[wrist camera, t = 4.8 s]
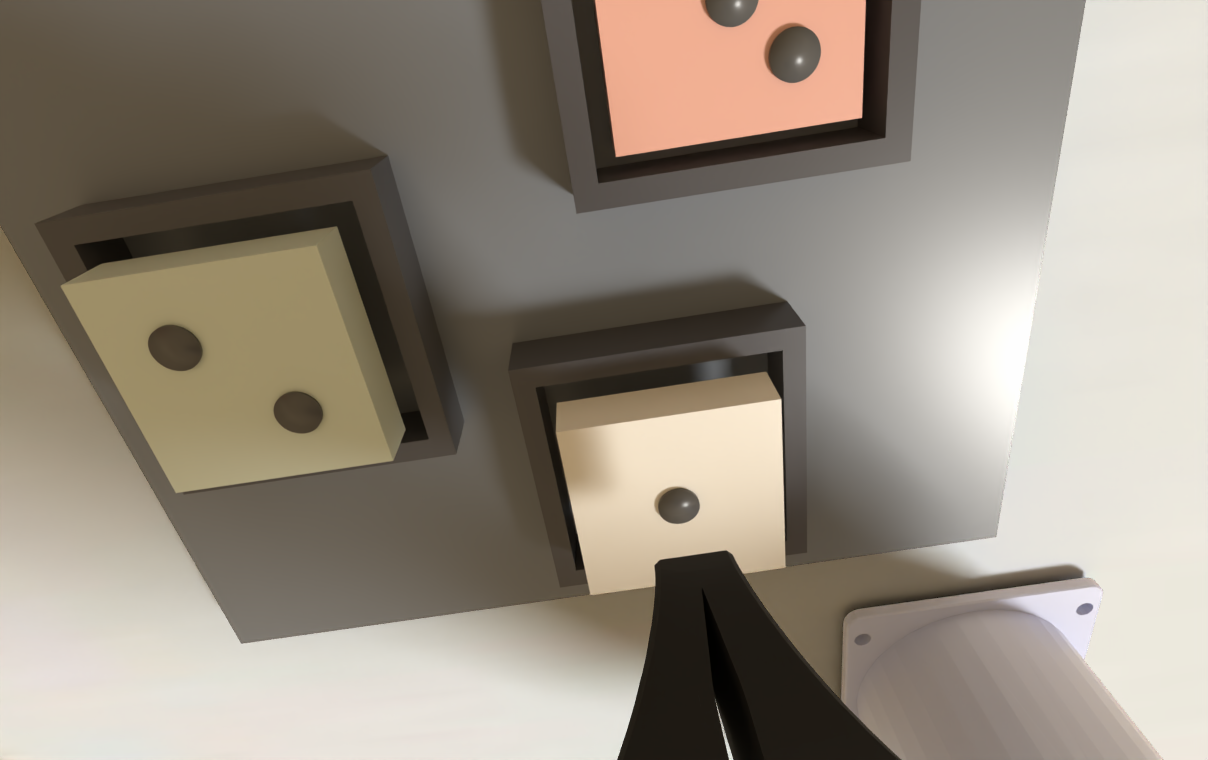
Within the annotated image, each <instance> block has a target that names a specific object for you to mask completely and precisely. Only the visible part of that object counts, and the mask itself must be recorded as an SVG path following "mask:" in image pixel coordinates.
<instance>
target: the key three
mask: <svg viewBox="0 0 1208 760" xmlns="http://www.w3.org/2000/svg"><path fill="white" fill-rule="evenodd" d="M593 5H594V13H595V20H596V28H597V35H598V43H599V50H600V58H601V65H602V72H603V80H604V87H605V95H606V102H607V110H608V117H609V124H610V132H611V139H612V146H613V149H614V152H615V156H616V157H620V156H626V155H633V154H639V153H645V152H651V151H658V150H664V149H670V148H676V147H683V146H689V145H695V144H701V143H708V142H714V141H720V140H726V139H733V138H739V137H745V136H752V135H758V134H764V133H770V132H777V131H783V130H789V129H795V128H802V127H808V126H814V125H820V124H827V123H833V122H839V121H845V120H852V119H858V118H862V103H863V72H864V41H865V10H866V0H593Z"/></svg>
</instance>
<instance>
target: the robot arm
mask: <svg viewBox="0 0 1208 760" xmlns="http://www.w3.org/2000/svg"><path fill="white" fill-rule="evenodd" d="M654 568H655V601H654V610H653V619H652V626H651V632H650V637H649V643H648V649H647V654H646V659H645V664H644V668H643V673H642V677H641V681H640V685H639V689H638V693H637V697H636V701H635V705H634V708H633V712H632V715H631V719H630V722H629V725H628V729H627V732H626V735H625V738H624V741H623V744H622V747H621V750H620V753H619V756H618V759H617V760H729V758H728V754H727V749H726V745H725V741H724V737H723V732H722V728H721V724H720V720H719V715H718V711H717V707H716V703H717V706H718V709H719V713H720V716H721V720H722V723H723V726H724V730H725V733H726V736H727V740H728V743H729V746H730V750H731V753H732V756H733V760H1163V758H1162V757H1161V756H1160V755H1159V753H1158V752H1157V751H1156V750H1155V748H1154V747H1153V746H1152V745H1151V743H1150V742H1149V741H1148V740H1147V738H1146V737H1145V736H1144V735H1143V733H1142V732H1141V731H1140V730H1139V728H1138V727H1137V726H1136V725H1135V723H1134V722H1133V721H1132V720H1131V718H1130V717H1129V716H1128V714H1127V713H1126V712H1125V711H1124V709H1123V708H1122V707H1121V706H1120V704H1119V703H1118V702H1117V701H1116V699H1115V698H1114V697H1113V696H1112V694H1111V693H1110V692H1109V691H1108V689H1107V688H1106V687H1105V686H1104V684H1103V683H1102V682H1101V681H1100V679H1099V678H1098V677H1097V676H1096V674H1095V673H1094V672H1093V671H1092V669H1091V668H1090V667H1089V665H1088V664H1087V663H1086V662H1085V656H1086V653H1087V649H1088V646H1089V642H1090V639H1091V635H1092V631H1093V628H1094V624H1095V621H1096V617H1097V613H1098V610H1099V606H1100V603H1101V599H1102V595H1103V590H1102V588H1101V587H1100V586H1099V585H1098V584H1097V583H1096V582H1095V580H1093V579H1091V578H1077V579H1070V580H1063V581H1056V582H1049V583H1041V584H1034V585H1027V586H1020V587H1013V588H1005V589H998V590H991V591H984V592H977V593H969V594H962V595H955V596H948V597H941V598H934V599H926V600H919V601H912V602H905V603H898V604H890V605H883V606H876V607H869V608H862V609H857V610H853V611H852V612H850V613H848V615H847V616H846V617H845V619H844V622H843V651H842V684H841V700H840V699H839V697H838V696H837V695H836V694H835V693H834V692H833V691H832V690H831V689H830V688H829V687H828V685H827V684H826V683H825V682H824V681H823V680H822V679H821V677H820V676H819V675H818V674H817V673H816V672H815V670H814V669H813V668H812V667H811V666H810V665H809V664H808V662H807V661H806V660H805V659H804V658H803V656H802V655H801V654H800V653H799V651H798V650H797V649H796V648H795V647H794V645H793V644H792V643H791V641H790V640H789V639H788V637H787V636H786V635H785V634H784V632H783V631H782V630H781V628H780V627H779V626H778V624H777V623H776V622H775V621H774V619H773V618H772V616H771V615H770V614H769V612H768V611H767V609H766V608H765V607H764V605H763V604H762V602H761V601H760V599H759V598H758V596H757V595H756V593H755V592H754V590H753V589H752V587H751V586H750V584H749V583H748V581H747V579H746V578H745V576H744V575H743V573H742V571H741V569H740V568H739V566H738V564H737V562H736V560H735V558H734V556H733V554H731V553H730V552H728V551H727V550H724V551H717V552H710V553H703V554H696V555H689V556H682V557H675V558H668V559H661V560H659V561H658V562H657V563H656V564H655V565H654ZM715 699H716V701H715Z"/></svg>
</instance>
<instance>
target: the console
mask: <svg viewBox="0 0 1208 760" xmlns="http://www.w3.org/2000/svg"><path fill="white" fill-rule="evenodd" d="M1085 2H1086V0H866V10H865V41H864V72H863V103H862V118H858V119H852V120H845V121H839V122H833V123H827V124H820V125H814V126H808V127H802V128H795V129H789V130H783V131H777V132H770V133H764V134H758V135H752V136H745V137H739V138H733V139H726V140H720V141H714V142H708V143H701V144H695V145H689V146H683V147H676V148H670V149H664V150H658V151H651V152H645V153H639V154H633V155H626V156H620V157H616V156H615V152H614V149H613V146H612V139H611V132H610V124H609V117H608V110H607V102H606V95H605V87H604V80H603V72H602V65H601V58H600V50H599V43H598V35H597V28H596V20H595V13H594V5H593V0H0V226H1V227H2V229H3V231H4V233H5V234H6V236H7V238H8V240H9V241H10V243H11V245H12V246H13V248H14V250H15V252H16V253H17V255H18V257H19V259H20V260H21V262H22V264H23V266H24V267H25V269H26V271H27V273H28V274H29V276H30V278H31V279H32V281H33V283H34V285H35V286H36V288H37V290H38V292H39V293H40V295H41V297H42V299H43V300H44V302H45V304H46V305H47V307H48V309H49V311H50V312H51V314H52V316H53V318H54V319H55V321H56V323H57V325H58V326H59V328H60V330H61V332H62V333H63V335H64V337H65V338H66V340H67V342H68V344H69V345H70V347H71V349H72V351H73V352H74V354H75V356H76V358H77V359H78V361H79V363H80V364H81V366H82V368H83V370H84V371H85V373H86V375H87V377H88V378H89V380H90V382H91V384H92V385H93V387H94V389H95V391H96V392H97V394H98V396H99V397H100V399H101V401H102V403H103V404H104V406H105V408H106V410H107V411H108V413H109V415H110V417H111V418H112V420H113V422H114V423H115V425H116V427H117V429H118V430H119V432H120V434H121V436H122V437H123V439H124V441H125V443H126V444H127V446H128V448H129V450H130V451H131V453H132V455H133V456H134V458H135V460H136V462H137V463H138V465H139V467H140V469H141V470H142V472H143V474H144V476H145V477H146V479H147V481H148V482H149V484H150V486H151V488H152V489H153V491H154V493H155V495H156V496H157V498H158V500H159V502H160V503H161V505H162V507H163V508H164V510H165V512H166V514H167V515H168V517H169V519H170V521H171V522H172V524H173V526H174V528H175V529H176V531H177V533H178V535H179V536H180V538H181V540H182V541H183V543H184V545H185V547H186V548H187V550H188V552H189V554H190V555H191V557H192V559H193V561H194V562H195V564H196V566H197V567H198V569H199V571H200V573H201V574H202V576H203V578H204V580H205V581H206V583H207V585H208V587H209V588H210V590H211V592H212V594H213V595H214V597H215V599H216V600H217V602H218V604H219V606H220V607H221V609H222V611H223V613H224V614H225V616H226V618H227V620H228V621H229V623H230V625H231V626H232V628H233V630H234V632H235V633H236V635H237V637H238V639H239V640H240V642H241V644H242V643H250V642H257V641H264V640H271V639H278V638H285V637H292V636H299V635H306V634H313V633H320V632H327V631H334V630H342V629H349V628H356V627H363V626H370V625H377V624H384V623H391V622H398V621H405V620H412V619H419V618H426V617H434V616H441V615H448V614H455V613H462V612H469V611H476V610H483V609H490V608H497V607H504V606H511V605H518V604H525V603H533V602H540V601H547V600H554V599H561V598H568V597H575V596H582V595H589V594H590V590H589V585H588V581H587V576H586V571H585V567H584V562H583V557H582V553H581V548H580V543H579V539H578V534H577V529H576V525H575V520H574V515H573V511H572V506H571V501H570V497H569V492H568V487H567V483H566V478H565V473H564V468H563V464H562V459H561V454H560V450H559V445H558V440H557V436H556V411H557V403H559V402H566V401H573V400H579V399H586V398H593V397H599V396H606V395H613V394H619V393H626V392H633V391H639V390H646V389H653V388H660V387H666V386H673V385H680V384H686V383H693V382H700V381H706V380H713V379H720V378H726V377H733V376H740V375H746V374H753V373H760V372H767V374H768V376H769V378H770V379H771V381H772V383H773V385H774V387H775V389H776V390H777V392H778V394H779V396H780V398H781V407H782V447H783V486H784V525H785V564H786V567H787V566H794V565H801V564H809V563H816V562H823V561H830V560H837V559H844V558H851V557H858V556H865V555H872V554H879V553H886V552H893V551H901V550H908V549H915V548H922V547H929V546H936V545H943V544H950V543H957V542H964V541H971V540H978V539H985V538H993V537H996V535H997V529H998V523H999V517H1000V511H1001V505H1002V499H1003V493H1004V487H1005V481H1006V475H1007V469H1008V463H1009V457H1010V451H1011V445H1012V439H1013V433H1014V427H1015V421H1016V415H1017V409H1018V403H1019V397H1020V391H1021V385H1022V379H1023V373H1024V367H1025V361H1026V355H1027V349H1028V343H1029V337H1030V331H1031V325H1032V319H1033V313H1034V307H1035V301H1036V295H1037V289H1038V283H1039V277H1040V271H1041V265H1042V259H1043V253H1044V247H1045V241H1046V235H1047V229H1048V223H1049V217H1050V211H1051V205H1052V199H1053V193H1054V187H1055V181H1056V175H1057V169H1058V163H1059V157H1060V151H1061V145H1062V139H1063V133H1064V127H1065V122H1066V116H1067V110H1068V104H1069V98H1070V92H1071V86H1072V80H1073V74H1074V68H1075V62H1076V56H1077V50H1078V44H1079V38H1080V32H1081V26H1082V20H1083V14H1084V8H1085ZM336 226H337V228H338V231H339V234H340V237H341V240H342V243H343V246H344V249H345V252H346V255H347V257H348V260H349V263H350V266H351V269H352V272H353V275H354V278H355V281H356V284H357V287H358V290H359V293H360V296H361V299H362V302H363V305H364V308H365V311H366V314H367V317H368V320H369V323H370V326H371V329H372V331H373V334H374V337H375V340H376V343H377V346H378V349H379V352H380V355H381V358H382V361H383V364H384V367H385V370H386V373H387V376H388V379H389V382H390V385H391V388H392V391H393V394H394V397H395V400H396V403H397V406H398V408H399V411H400V414H401V417H402V420H403V423H404V426H405V429H406V430H405V432H404V435H403V437H402V440H401V443H400V445H399V448H398V450H397V453H396V455H395V458H394V460H393V461H389V462H382V463H375V464H369V465H362V466H355V467H348V468H342V469H335V470H328V471H321V472H315V473H308V474H301V475H294V476H288V477H281V478H274V479H267V480H261V481H254V482H247V483H240V484H234V485H227V486H220V487H213V488H207V489H200V490H193V491H187V492H180V493H176V492H175V490H174V489H173V487H172V485H171V483H170V482H169V480H168V478H167V476H166V474H165V473H164V471H163V469H162V467H161V465H160V464H159V462H158V460H157V458H156V456H155V455H154V453H153V451H152V449H151V447H150V446H149V444H148V442H147V440H146V438H145V437H144V435H143V433H142V431H141V430H140V428H139V426H138V424H137V422H136V421H135V419H134V417H133V415H132V413H131V412H130V410H129V408H128V406H127V404H126V403H125V401H124V399H123V397H122V395H121V394H120V392H119V390H118V388H117V386H116V385H115V383H114V381H113V379H112V378H111V376H110V374H109V372H108V370H107V369H106V367H105V365H104V363H103V361H102V360H101V358H100V356H99V354H98V352H97V351H96V349H95V347H94V345H93V343H92V342H91V340H90V338H89V336H88V334H87V333H86V331H85V329H84V327H83V326H82V324H81V322H80V320H79V318H78V317H77V315H76V313H75V311H74V309H73V308H72V306H71V304H70V302H69V300H68V299H67V297H66V295H65V293H64V291H63V290H62V288H61V285H63V284H65V283H66V282H68V281H70V280H72V279H74V278H76V277H78V276H80V275H81V274H83V273H85V272H87V271H89V270H91V269H93V268H94V267H96V266H98V265H100V264H103V263H109V262H115V261H122V260H128V259H134V258H141V257H147V256H153V255H159V254H166V253H172V252H178V251H185V250H191V249H197V248H204V247H210V246H216V245H222V244H229V243H235V242H241V241H248V240H254V239H260V238H267V237H273V236H279V235H285V234H292V233H298V232H304V231H311V230H317V229H323V228H330V227H336Z"/></svg>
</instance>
